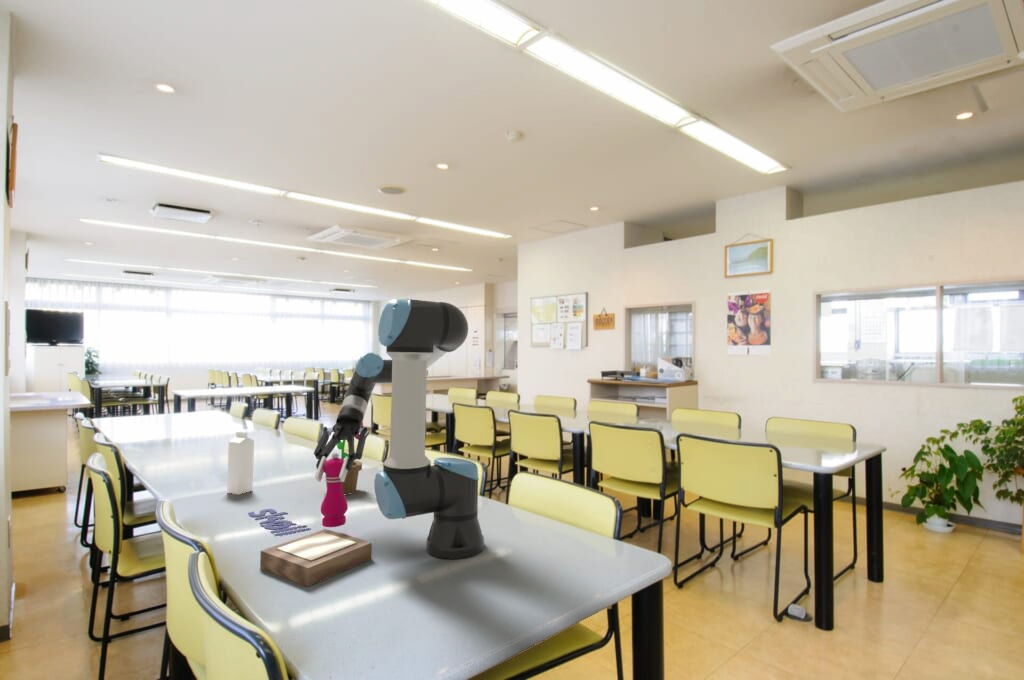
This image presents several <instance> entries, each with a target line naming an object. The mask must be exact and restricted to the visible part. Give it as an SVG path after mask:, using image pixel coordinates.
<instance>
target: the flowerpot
mask: <svg viewBox="0 0 1024 680" xmlns="http://www.w3.org/2000/svg"><path fill="white" fill-rule="evenodd" d="M363 425H364V423H363V422H362V425H361V428H363ZM359 436H360V432H359V433H358V434H357V435H356V436H355V437H354V439H356V440H357V441H358V440H359ZM346 442H347V443H348V440H341V441H340V442H339V443H338V444H337V445H336V448H337V449H338V450H339V451H340V450H341V451H340V452H341V455H340V456H341V457H340V459H343V460H345V457H349V455H348V454H349V453H347V452H345V444H346ZM362 469H363V462H361V461H360V460H359V461H358V460H354V462H353V465H352V468H351V470H348V471H347V474H346V478H345V481H344V482H342V490H343V493H344V494H348V495H350V494H349V493H352V494H354V493H356V492H357V485H358V478H359V471H363V470H362ZM323 474H324V475H325V477H326V476H327V474H326V473H325V472H324V473H323ZM325 482H326V481H325ZM325 484H326V486H327V482H326V483H325ZM355 491H356V492H355ZM353 492H354V493H353Z"/></svg>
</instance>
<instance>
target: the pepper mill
mask: <svg viewBox="0 0 1024 680" xmlns="http://www.w3.org/2000/svg"><path fill="white" fill-rule="evenodd" d="M339 456H340V455H339V453H338V452H334V453H332V454H331V457H332V458H330V459H328V460H327V462H326V463H325V465H324V472H325V473H326V474H327V476H326V475H325V480H324V481H325V482H327V485H326V492H325V495H324V498H323V500H322V502H321V505H320V513H321V514H322V515H323V517H322V519H321V520H322V523H321V525H322V526H323V527H324V528H337V527H342V526H343V525H346V522H347V521H346V520H347V519H346V518H347V517H346V515H345V514H346V513H347V511H348V502H347V501H348V500H347V498H346V495H344V493H343V490H342V482H341V480H340V478H339V475H340V472H341V469H342V466H343V463H344V460H345V459H344V460H343V459H341V457H339ZM325 473H324V474H325Z"/></svg>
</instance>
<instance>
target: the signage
mask: <svg viewBox="0 0 1024 680" xmlns="http://www.w3.org/2000/svg"><path fill="white" fill-rule="evenodd" d="M268 511H269V513H270V514H268V515H266V514H267V513H268ZM274 513H275V514H274ZM247 514H248V516H249V517H251V518H254V521H259V519H260V520H263V519H264V518H265V519H267V518H268V519H267V520H265V519H264V520H263V521H260V522H259V527H261V528H264V529H265V530H268V531H270V533H271V534H272V535H273V536H274V535H275V536H274V537H276V536H280V537H283V535H285V536H288V534H289V535H292V533H293V534H297V533H296V532H298V533H301V532H300V531H302V532H306V531H305V530H307V531H310V530H309V529H311V530H312V528H311V527H310V528H309V527H306V526H307V525H306V524H305V525H304V524H301V525H303V526H301V525H297V523H296V522H293V521H291V520H288V519H287V520H285V517H284V515H283V514H285V515H288V514H289V513H288V512H286V511H283V512H282V511H281V512H278V513H277V510H275V509H274V508H267V509H266V508H265V509H262V510H259V513H258V514H256V513H255V511H251V512H250V511H249V512H248V513H247ZM279 515H280V516H279ZM261 516H262V517H261ZM259 517H260V518H259ZM255 518H256V519H255ZM278 519H280V520H278ZM283 523H285V524H283ZM289 526H290V527H289ZM291 526H292V527H291ZM296 526H297V527H296ZM301 527H303V528H301ZM283 528H284V529H283ZM297 528H299V529H297ZM305 528H306V529H305ZM277 529H279V530H277ZM293 529H294V530H293ZM289 530H290V531H289ZM284 531H285V532H284ZM280 532H281V533H280ZM274 533H276V534H274Z"/></svg>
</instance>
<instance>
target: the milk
mask: <svg viewBox="0 0 1024 680" xmlns="http://www.w3.org/2000/svg"><path fill="white" fill-rule="evenodd" d="M254 445H255V440H254V439H251V438H250V437H249V436H248V433H247V432H241V431H240V432H239V431H236V433H235V436H234V437H233V438H231V439H230V440H229V441H228V453H227V454H228V455H227V456H228V457H227V487H226V488H227V491H226V492H227V494H231V493H232V494H231V495H236V494H237V496H240V495H243V494H246V492H247V493H251V492H253V488H254V487H253V485H254V451H255V449H254V448H255V446H254ZM250 491H251V492H250ZM242 493H243V494H242Z"/></svg>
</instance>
